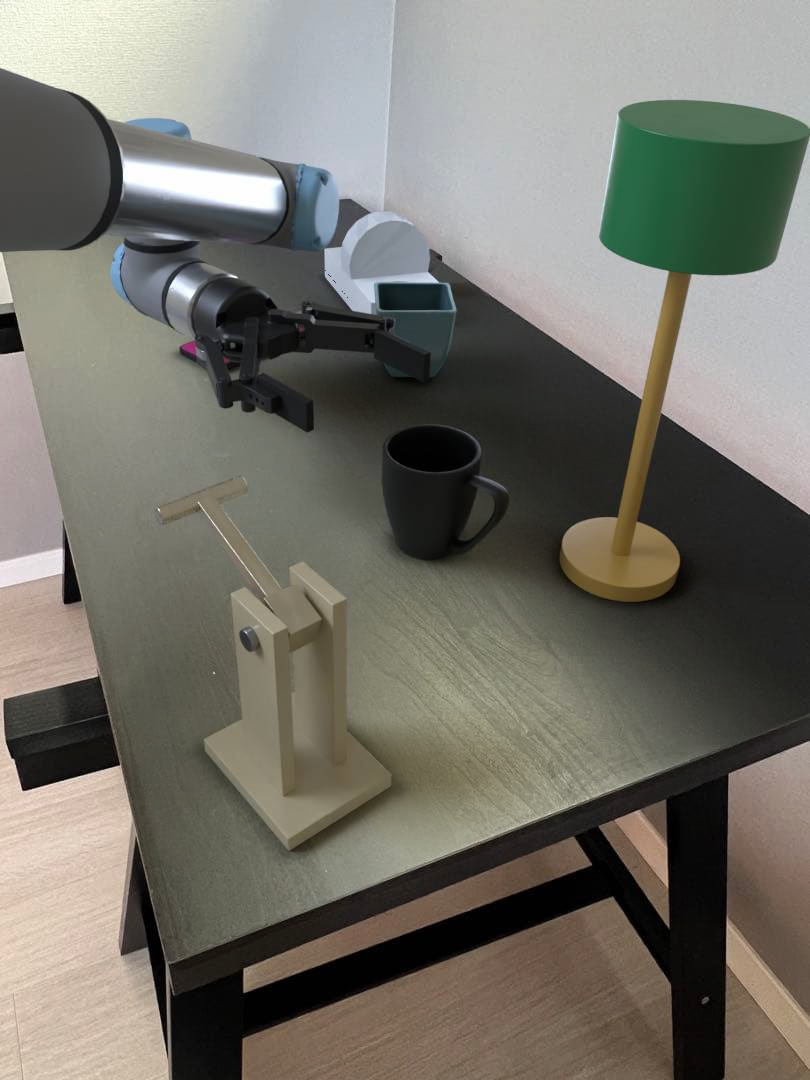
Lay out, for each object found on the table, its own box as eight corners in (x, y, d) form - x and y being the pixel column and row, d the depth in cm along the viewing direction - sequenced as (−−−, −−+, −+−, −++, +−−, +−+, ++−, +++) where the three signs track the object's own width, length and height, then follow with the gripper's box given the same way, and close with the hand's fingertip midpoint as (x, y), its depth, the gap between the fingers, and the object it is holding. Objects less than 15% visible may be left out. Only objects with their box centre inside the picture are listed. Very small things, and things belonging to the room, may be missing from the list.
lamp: (526, 580, 80) (592, 124, 58) (575, 511, 88) (648, 92, 67) (666, 628, 75) (792, 154, 54) (703, 550, 84) (825, 116, 63)
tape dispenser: (450, 323, 122) (456, 237, 115) (369, 333, 119) (370, 245, 112) (397, 269, 137) (399, 190, 130) (323, 276, 133) (322, 195, 127)
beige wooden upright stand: (204, 751, 63) (182, 578, 55) (303, 698, 68) (296, 530, 59) (288, 851, 57) (278, 675, 49) (391, 786, 62) (398, 613, 53)
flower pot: (372, 352, 114) (373, 280, 109) (444, 353, 115) (449, 281, 110) (374, 385, 107) (376, 310, 102) (451, 386, 108) (457, 311, 102)
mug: (460, 603, 77) (469, 507, 71) (360, 538, 83) (361, 445, 78) (524, 562, 81) (538, 468, 76) (425, 503, 88) (431, 413, 83)
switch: (152, 521, 58) (153, 496, 56) (236, 489, 61) (240, 465, 59) (255, 670, 54) (261, 648, 52) (341, 628, 57) (349, 605, 55)
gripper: (321, 316, 102) (466, 385, 90) (115, 387, 87) (257, 480, 76) (319, 247, 97) (472, 311, 86) (103, 310, 83) (251, 397, 71)
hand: (371, 391), depth 81 cm, fingers open, 13 cm apart
